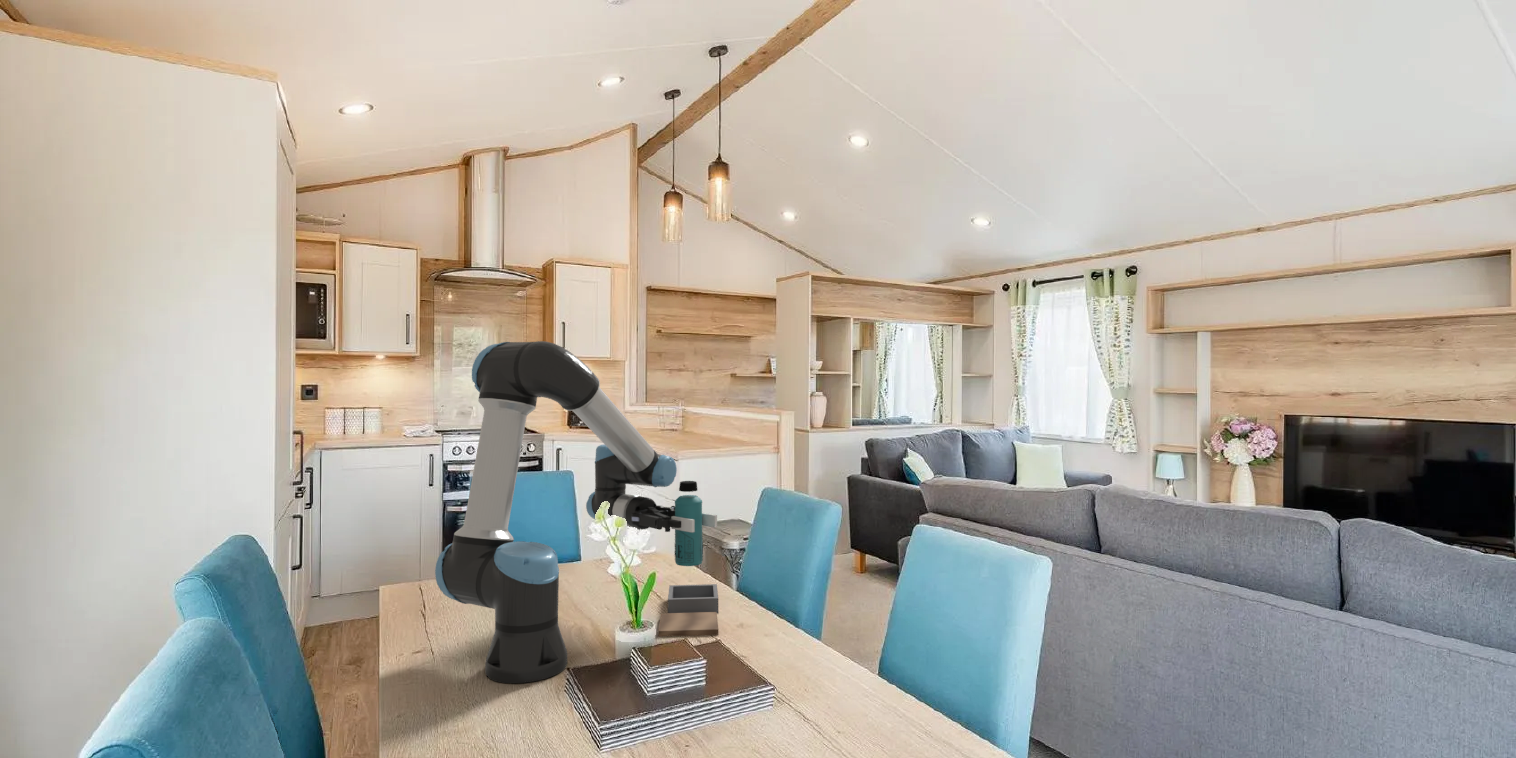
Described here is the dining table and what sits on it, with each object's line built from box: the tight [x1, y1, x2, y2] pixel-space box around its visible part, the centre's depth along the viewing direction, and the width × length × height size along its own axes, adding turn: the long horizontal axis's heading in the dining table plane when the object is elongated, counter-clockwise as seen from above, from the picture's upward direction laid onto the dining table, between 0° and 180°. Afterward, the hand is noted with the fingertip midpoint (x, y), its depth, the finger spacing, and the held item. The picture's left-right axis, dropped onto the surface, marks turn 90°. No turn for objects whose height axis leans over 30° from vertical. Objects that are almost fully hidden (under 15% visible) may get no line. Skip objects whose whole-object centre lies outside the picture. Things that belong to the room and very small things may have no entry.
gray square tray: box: [667, 583, 719, 614], centre depth 180 cm, size 12×12×4 cm
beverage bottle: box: [673, 480, 704, 567], centre depth 165 cm, size 6×7×20 cm
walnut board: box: [657, 612, 719, 638], centre depth 165 cm, size 13×12×1 cm
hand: (704, 523), depth 162 cm, fingers closed on beverage bottle, 6 cm apart
